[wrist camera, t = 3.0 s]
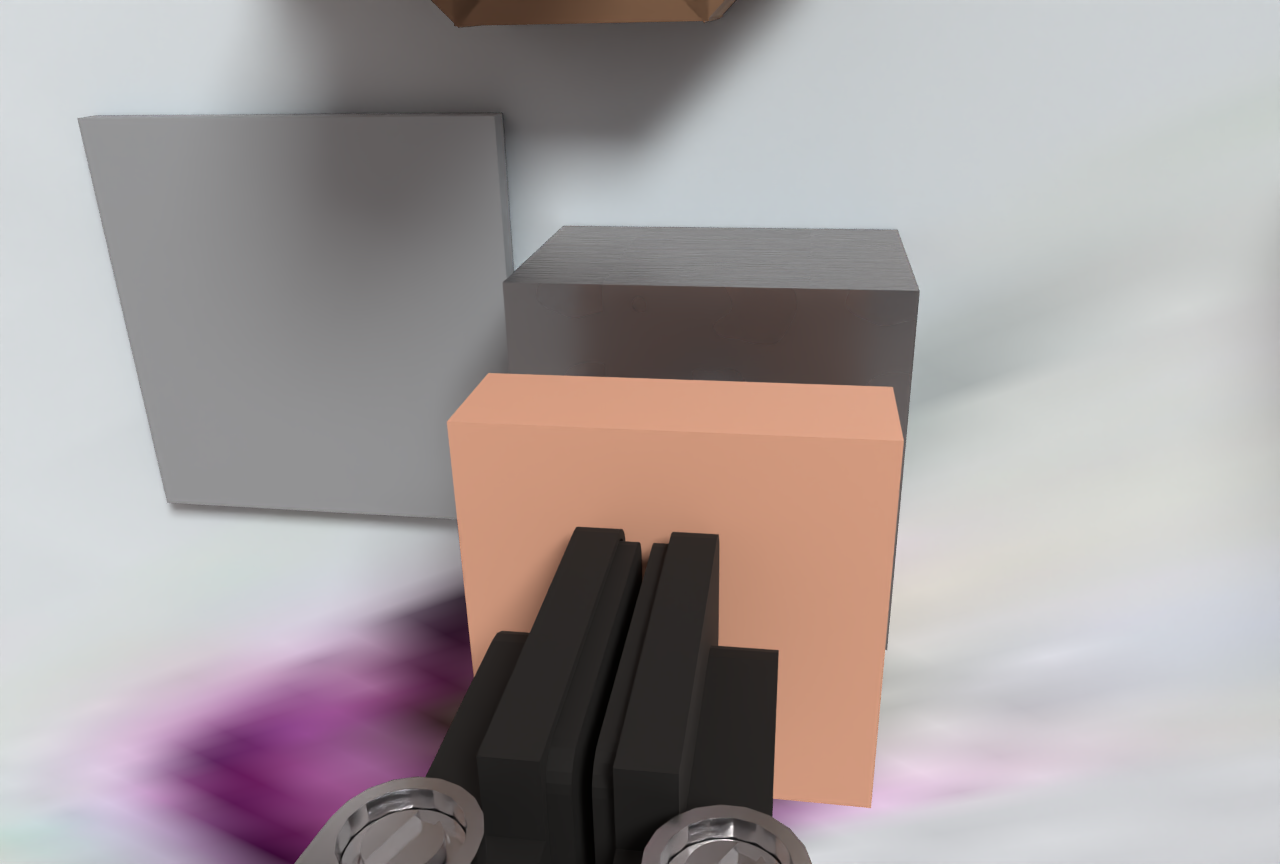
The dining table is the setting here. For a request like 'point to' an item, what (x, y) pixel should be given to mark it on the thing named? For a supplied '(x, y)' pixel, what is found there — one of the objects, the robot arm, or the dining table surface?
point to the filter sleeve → (579, 11)
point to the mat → (307, 297)
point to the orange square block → (704, 528)
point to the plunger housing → (719, 308)
